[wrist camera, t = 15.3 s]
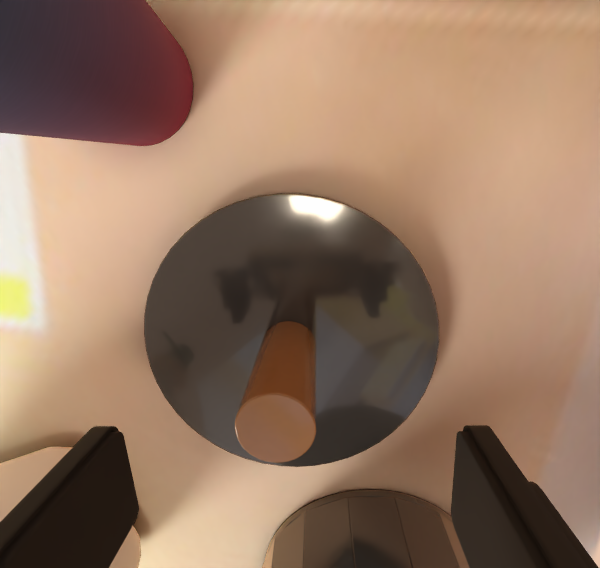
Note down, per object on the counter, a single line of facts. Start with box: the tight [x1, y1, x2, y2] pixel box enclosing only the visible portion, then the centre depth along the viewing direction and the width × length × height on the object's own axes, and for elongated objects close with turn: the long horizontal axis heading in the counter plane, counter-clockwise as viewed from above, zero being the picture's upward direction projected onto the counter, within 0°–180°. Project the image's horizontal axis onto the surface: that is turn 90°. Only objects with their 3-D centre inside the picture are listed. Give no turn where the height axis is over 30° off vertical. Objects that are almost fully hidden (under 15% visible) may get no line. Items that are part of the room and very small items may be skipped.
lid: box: [144, 194, 439, 467], centre depth 14 cm, size 14×14×7 cm
